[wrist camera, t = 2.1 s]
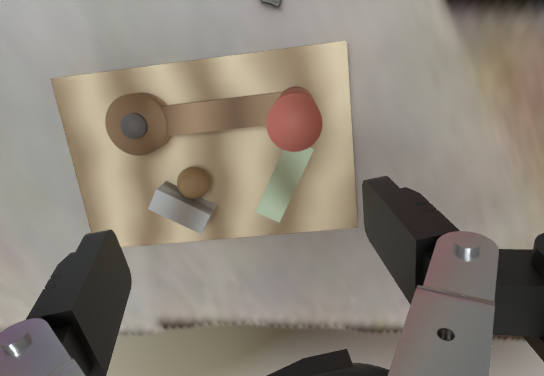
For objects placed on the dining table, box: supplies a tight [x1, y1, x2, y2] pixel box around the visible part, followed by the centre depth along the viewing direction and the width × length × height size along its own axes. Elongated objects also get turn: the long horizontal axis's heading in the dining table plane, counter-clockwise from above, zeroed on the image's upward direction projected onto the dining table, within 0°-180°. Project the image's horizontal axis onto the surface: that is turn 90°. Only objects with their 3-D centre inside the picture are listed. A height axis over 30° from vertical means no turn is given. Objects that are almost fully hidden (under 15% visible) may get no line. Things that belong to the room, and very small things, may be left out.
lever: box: [105, 86, 323, 156], centre depth 27 cm, size 17×5×12 cm, turn 97°
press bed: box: [51, 41, 358, 247], centre depth 34 cm, size 25×16×5 cm, turn 97°
